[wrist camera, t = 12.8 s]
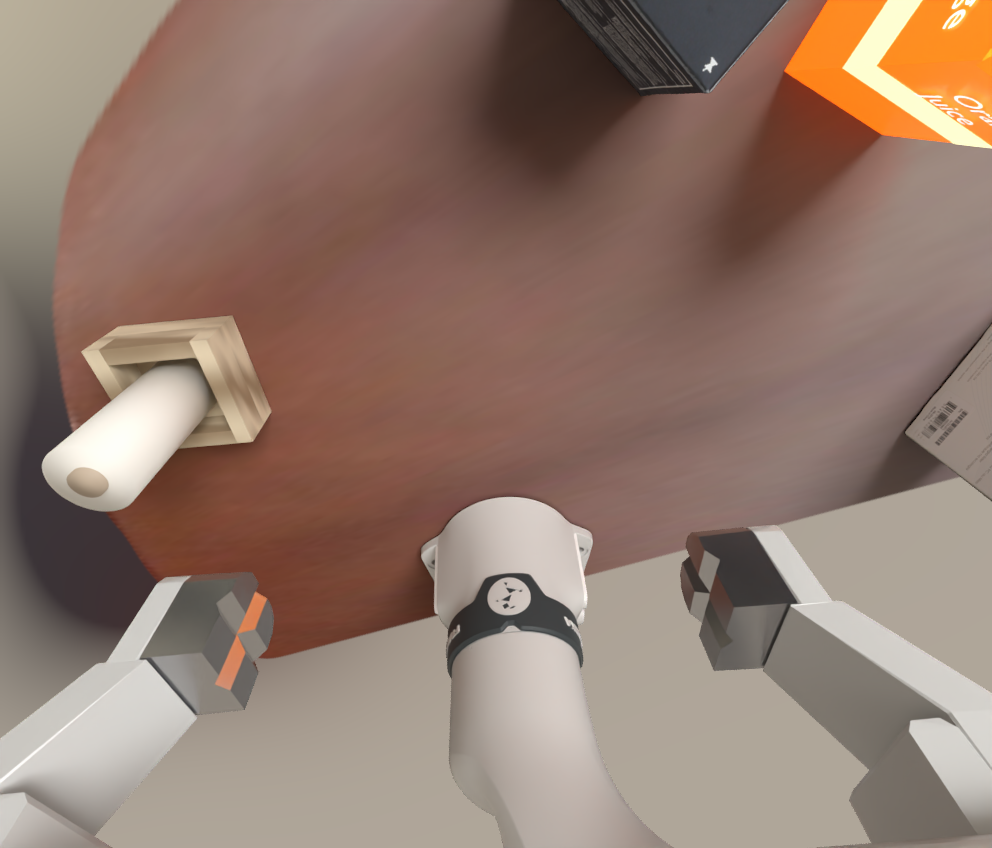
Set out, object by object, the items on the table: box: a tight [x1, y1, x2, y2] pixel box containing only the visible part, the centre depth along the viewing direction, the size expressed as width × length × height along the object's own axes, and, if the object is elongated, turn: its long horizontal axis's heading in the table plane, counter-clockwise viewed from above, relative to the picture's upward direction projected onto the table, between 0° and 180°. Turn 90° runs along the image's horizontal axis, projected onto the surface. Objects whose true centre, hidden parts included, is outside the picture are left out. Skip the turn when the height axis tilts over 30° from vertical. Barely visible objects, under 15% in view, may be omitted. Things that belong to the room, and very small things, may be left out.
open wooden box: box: [81, 316, 272, 449], centre depth 39 cm, size 9×9×4 cm
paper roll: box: [42, 358, 218, 511], centre depth 34 cm, size 5×5×12 cm
